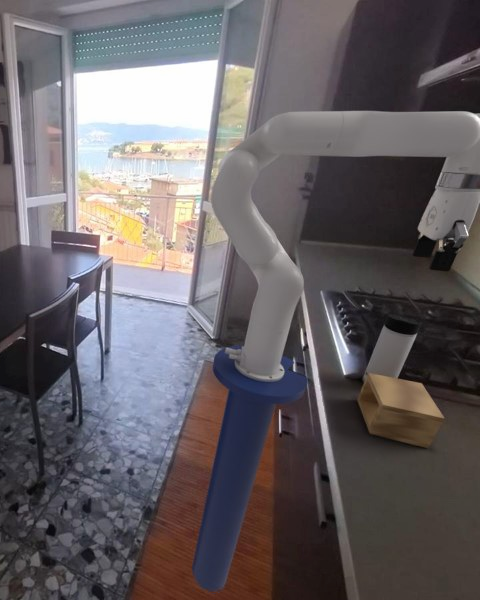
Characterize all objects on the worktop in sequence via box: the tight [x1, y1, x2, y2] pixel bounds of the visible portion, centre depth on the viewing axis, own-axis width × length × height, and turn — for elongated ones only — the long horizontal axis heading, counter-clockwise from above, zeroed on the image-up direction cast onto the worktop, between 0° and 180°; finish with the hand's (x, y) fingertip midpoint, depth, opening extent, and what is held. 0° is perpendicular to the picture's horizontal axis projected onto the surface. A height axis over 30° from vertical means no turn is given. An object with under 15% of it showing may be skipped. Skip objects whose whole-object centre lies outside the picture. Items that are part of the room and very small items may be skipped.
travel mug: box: [362, 313, 423, 383], centre depth 88 cm, size 6×7×20 cm
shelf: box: [356, 373, 445, 449], centre depth 79 cm, size 10×12×8 cm
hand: (429, 263), depth 78 cm, fingers open, 9 cm apart
